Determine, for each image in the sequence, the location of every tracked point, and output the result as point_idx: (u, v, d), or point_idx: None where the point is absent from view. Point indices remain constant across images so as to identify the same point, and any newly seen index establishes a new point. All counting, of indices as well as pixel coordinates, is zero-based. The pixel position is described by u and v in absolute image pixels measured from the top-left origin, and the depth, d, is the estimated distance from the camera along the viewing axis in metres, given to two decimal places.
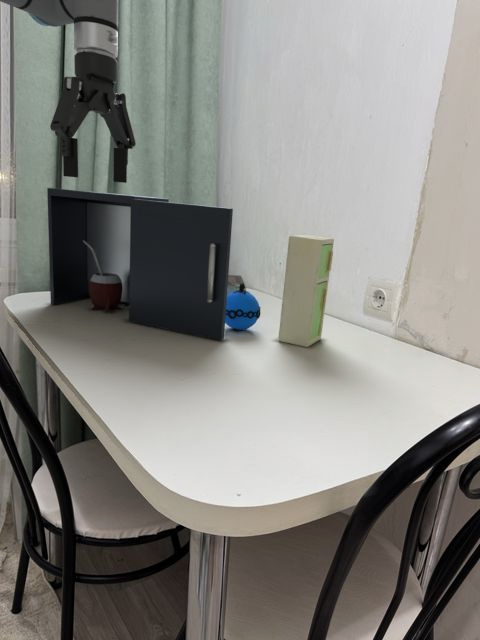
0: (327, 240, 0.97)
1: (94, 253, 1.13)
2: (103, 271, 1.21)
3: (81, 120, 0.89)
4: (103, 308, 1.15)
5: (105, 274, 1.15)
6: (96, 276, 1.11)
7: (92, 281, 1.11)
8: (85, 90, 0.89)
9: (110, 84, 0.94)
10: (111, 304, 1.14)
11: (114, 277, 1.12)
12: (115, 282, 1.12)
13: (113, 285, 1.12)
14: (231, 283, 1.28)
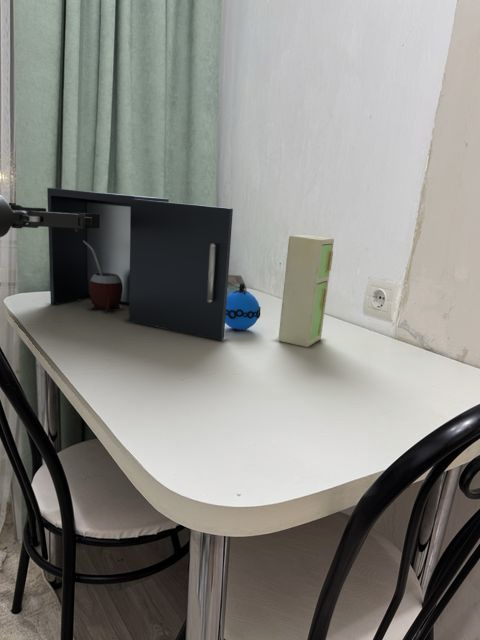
0: (327, 240, 0.97)
1: (94, 253, 1.13)
2: (103, 271, 1.21)
3: (54, 212, 0.91)
4: (103, 308, 1.15)
5: (105, 274, 1.15)
6: (96, 276, 1.11)
7: (92, 281, 1.11)
8: (26, 212, 0.87)
9: None
10: (111, 304, 1.14)
11: (114, 277, 1.12)
12: (115, 282, 1.12)
13: (113, 285, 1.12)
14: (231, 283, 1.28)
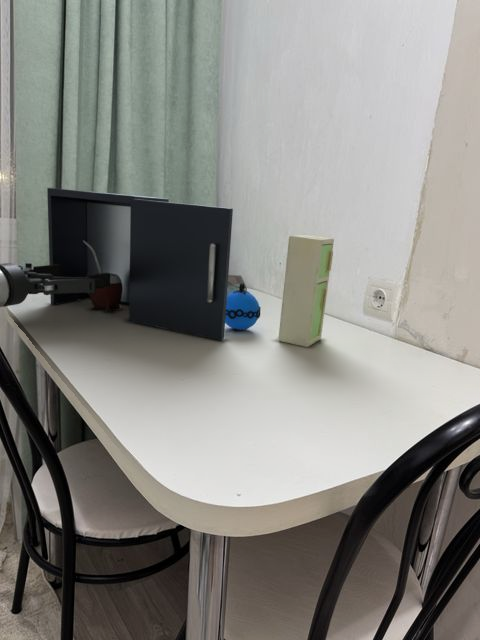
0: (327, 240, 0.97)
1: (94, 253, 1.13)
2: (103, 271, 1.21)
3: (67, 277, 0.96)
4: (103, 308, 1.15)
5: None
6: None
7: None
8: (41, 280, 0.93)
9: None
10: (111, 304, 1.14)
11: (114, 277, 1.12)
12: (115, 282, 1.12)
13: (113, 285, 1.12)
14: (232, 283, 1.28)
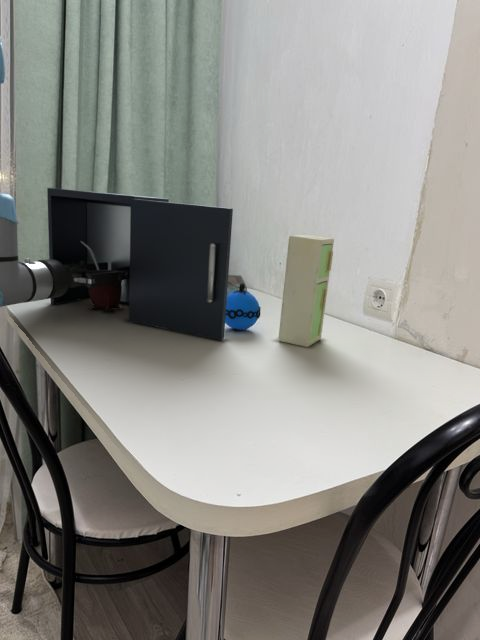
0: (327, 240, 0.97)
1: (92, 253, 1.13)
2: None
3: (98, 270, 1.07)
4: (103, 308, 1.15)
5: None
6: None
7: None
8: (80, 275, 1.01)
9: None
10: (111, 303, 1.14)
11: None
12: None
13: None
14: (232, 283, 1.28)
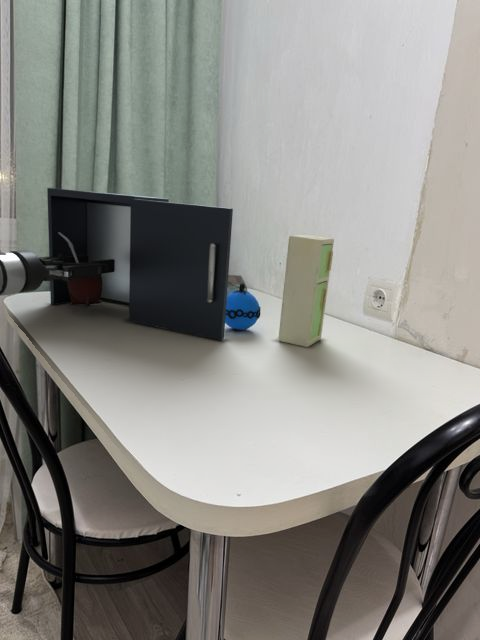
0: (327, 240, 0.97)
1: (71, 245, 1.07)
2: None
3: (76, 263, 1.01)
4: (83, 303, 1.09)
5: None
6: None
7: None
8: (56, 267, 0.95)
9: None
10: (91, 298, 1.08)
11: None
12: None
13: None
14: (232, 283, 1.29)
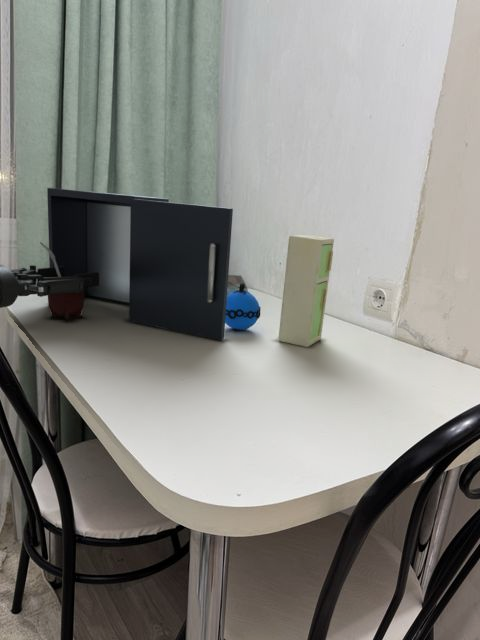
0: (327, 240, 0.97)
1: (52, 256, 1.02)
2: (103, 271, 1.21)
3: (56, 277, 0.96)
4: (63, 317, 1.04)
5: None
6: None
7: None
8: (31, 282, 0.91)
9: None
10: (71, 312, 1.03)
11: None
12: None
13: None
14: (232, 283, 1.29)
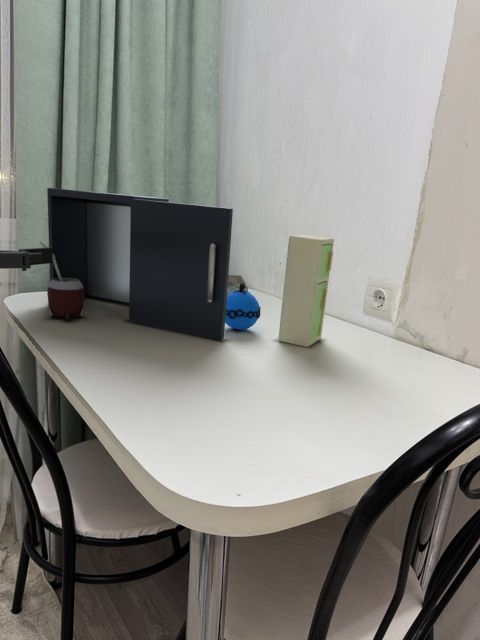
0: (327, 240, 0.97)
1: None
2: (103, 271, 1.21)
3: None
4: (63, 317, 1.04)
5: (66, 279, 1.05)
6: (54, 282, 1.01)
7: (49, 287, 1.01)
8: None
9: None
10: (71, 312, 1.03)
11: (74, 283, 1.01)
12: (75, 288, 1.01)
13: (73, 291, 1.01)
14: (232, 283, 1.29)
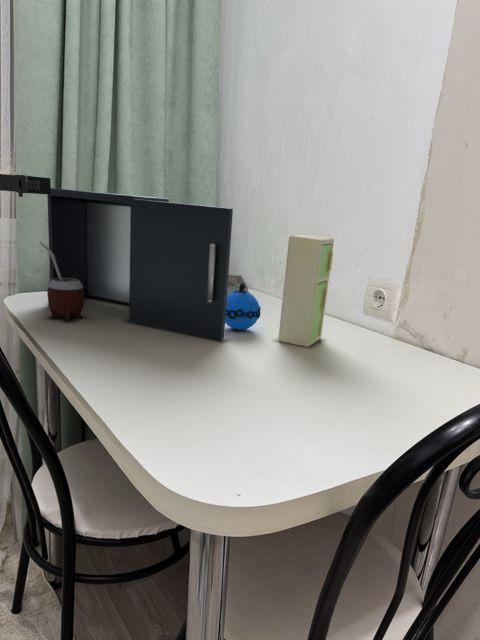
0: (327, 240, 0.97)
1: (52, 256, 1.02)
2: (103, 271, 1.21)
3: None
4: (63, 317, 1.04)
5: (66, 279, 1.05)
6: (54, 282, 1.01)
7: (49, 287, 1.01)
8: None
9: None
10: (71, 312, 1.03)
11: (74, 283, 1.01)
12: (75, 288, 1.01)
13: (73, 291, 1.01)
14: (233, 283, 1.29)
